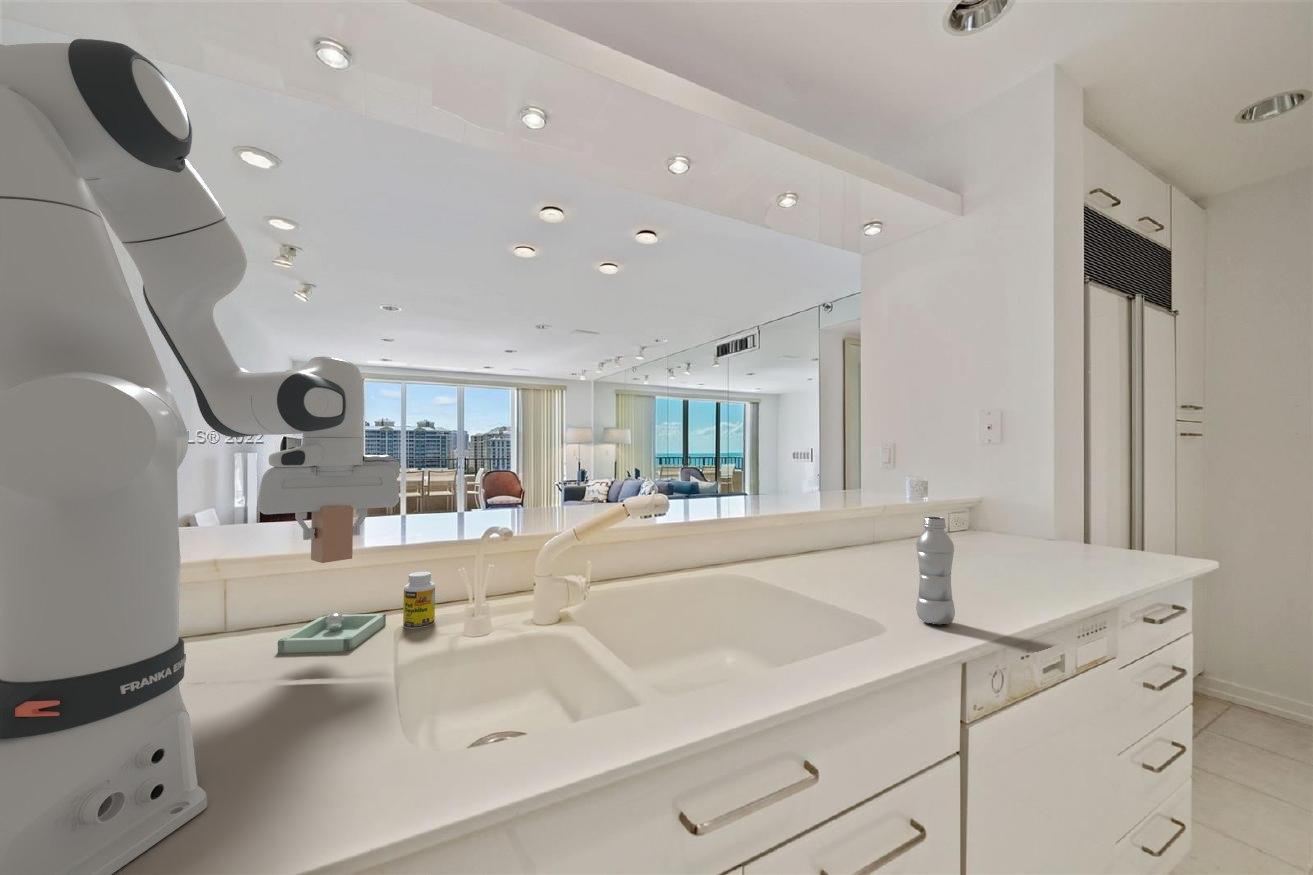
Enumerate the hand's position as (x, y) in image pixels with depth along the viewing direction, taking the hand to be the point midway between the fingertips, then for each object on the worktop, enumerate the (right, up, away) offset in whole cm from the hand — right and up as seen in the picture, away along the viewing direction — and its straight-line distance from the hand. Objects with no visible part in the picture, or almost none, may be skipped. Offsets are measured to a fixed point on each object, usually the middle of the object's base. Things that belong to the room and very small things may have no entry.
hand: (331, 537), depth 88 cm
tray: (0, -18, +2) cm, 18 cm away
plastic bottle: (+108, -19, +11) cm, 110 cm away
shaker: (0, -4, 0) cm, 4 cm away
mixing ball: (-3, -18, +5) cm, 18 cm away
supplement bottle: (+11, -19, +9) cm, 23 cm away
